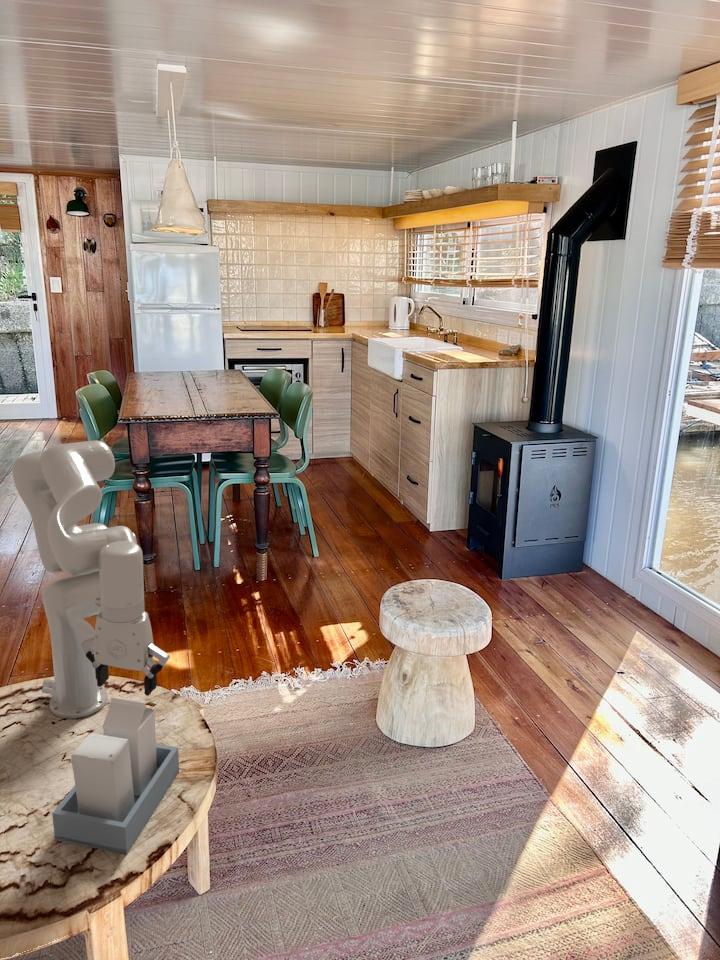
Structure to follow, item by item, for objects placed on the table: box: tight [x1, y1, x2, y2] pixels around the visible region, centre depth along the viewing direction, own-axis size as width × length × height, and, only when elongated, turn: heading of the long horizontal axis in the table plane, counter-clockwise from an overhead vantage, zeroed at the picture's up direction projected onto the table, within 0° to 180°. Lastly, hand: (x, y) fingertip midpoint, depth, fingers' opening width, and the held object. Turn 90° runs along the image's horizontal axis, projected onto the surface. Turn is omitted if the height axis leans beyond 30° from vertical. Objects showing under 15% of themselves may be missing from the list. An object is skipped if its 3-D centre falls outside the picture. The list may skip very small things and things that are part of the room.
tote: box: [51, 743, 180, 855], centre depth 141 cm, size 14×22×6 cm, turn 169°
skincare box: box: [70, 732, 135, 822], centre depth 135 cm, size 8×7×16 cm
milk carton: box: [102, 696, 157, 796], centre depth 143 cm, size 7×7×19 cm
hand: (126, 686), depth 140 cm, fingers open, 9 cm apart
